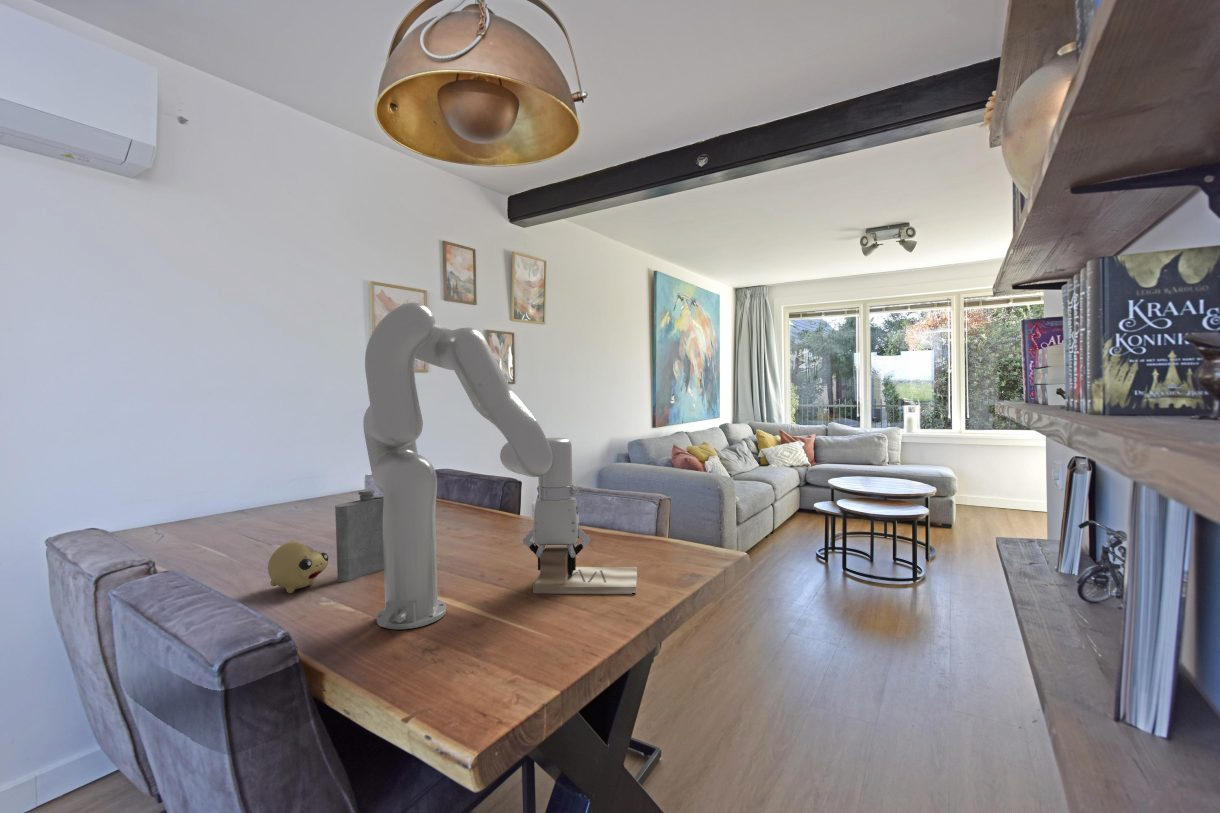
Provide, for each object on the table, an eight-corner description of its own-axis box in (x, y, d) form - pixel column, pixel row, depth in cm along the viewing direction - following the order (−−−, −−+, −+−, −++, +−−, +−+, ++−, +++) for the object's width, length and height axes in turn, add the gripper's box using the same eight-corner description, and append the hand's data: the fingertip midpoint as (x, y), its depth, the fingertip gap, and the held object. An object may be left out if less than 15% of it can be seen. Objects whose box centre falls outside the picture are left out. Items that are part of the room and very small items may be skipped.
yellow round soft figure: (302, 600, 116) (300, 550, 115) (258, 594, 119) (256, 546, 119) (337, 584, 125) (336, 537, 125) (296, 579, 129) (294, 534, 128)
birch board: (636, 593, 116) (636, 586, 116) (533, 593, 117) (532, 586, 117) (637, 573, 129) (637, 566, 128) (544, 573, 130) (544, 566, 130)
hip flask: (342, 583, 126) (339, 496, 125) (333, 579, 128) (330, 494, 128) (403, 564, 139) (401, 485, 138) (394, 561, 141) (391, 484, 141)
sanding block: (565, 583, 118) (565, 556, 118) (540, 583, 119) (539, 556, 118) (572, 568, 128) (571, 543, 128) (549, 568, 128) (548, 543, 128)
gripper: (595, 490, 126) (596, 568, 126) (521, 490, 127) (522, 567, 127) (592, 496, 118) (593, 579, 119) (513, 496, 120) (515, 578, 120)
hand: (557, 572), depth 123 cm, fingers closed on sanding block, 5 cm apart
